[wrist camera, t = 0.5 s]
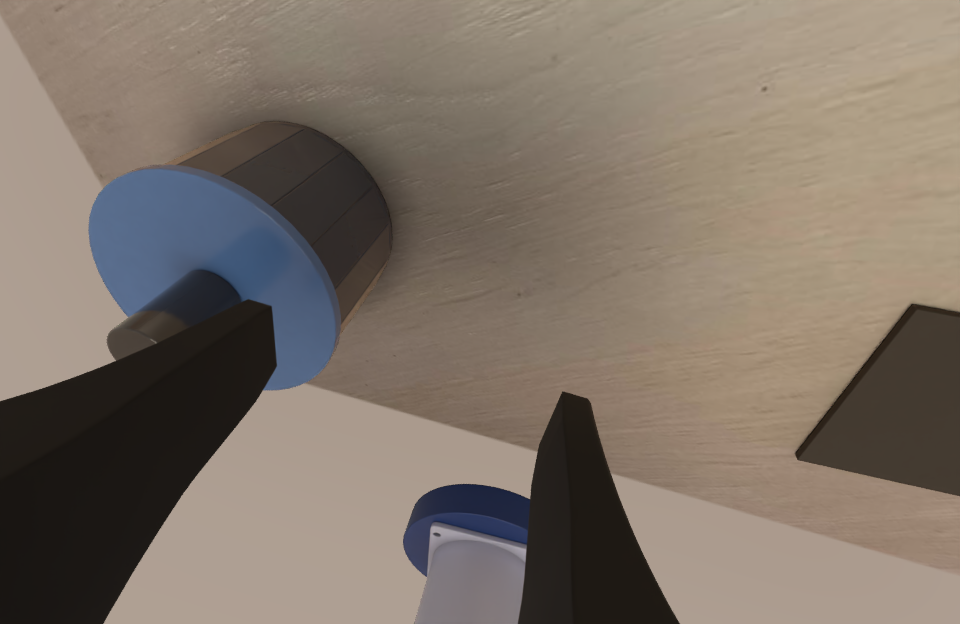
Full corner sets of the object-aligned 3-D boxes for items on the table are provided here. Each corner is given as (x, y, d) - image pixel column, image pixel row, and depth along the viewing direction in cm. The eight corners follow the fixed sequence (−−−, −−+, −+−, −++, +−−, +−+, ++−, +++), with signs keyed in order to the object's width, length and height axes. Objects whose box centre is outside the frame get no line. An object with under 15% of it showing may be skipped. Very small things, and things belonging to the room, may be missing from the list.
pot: (393, 312, 26) (342, 397, 21) (235, 278, 27) (150, 352, 22) (391, 139, 21) (322, 199, 16) (193, 105, 22) (67, 151, 17)
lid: (355, 393, 22) (303, 484, 18) (156, 347, 23) (68, 424, 19) (338, 185, 16) (256, 255, 12) (71, 135, 17) (-79, 186, 13)
